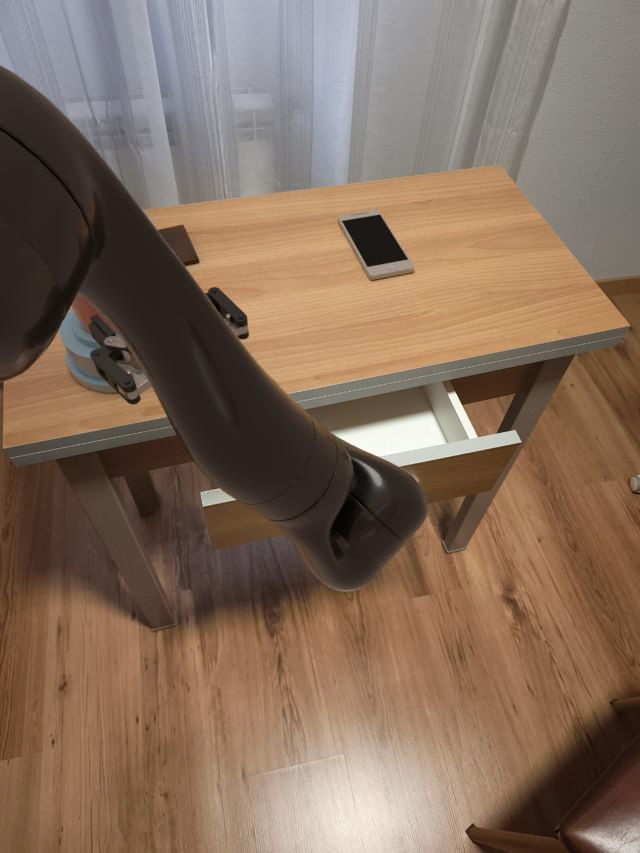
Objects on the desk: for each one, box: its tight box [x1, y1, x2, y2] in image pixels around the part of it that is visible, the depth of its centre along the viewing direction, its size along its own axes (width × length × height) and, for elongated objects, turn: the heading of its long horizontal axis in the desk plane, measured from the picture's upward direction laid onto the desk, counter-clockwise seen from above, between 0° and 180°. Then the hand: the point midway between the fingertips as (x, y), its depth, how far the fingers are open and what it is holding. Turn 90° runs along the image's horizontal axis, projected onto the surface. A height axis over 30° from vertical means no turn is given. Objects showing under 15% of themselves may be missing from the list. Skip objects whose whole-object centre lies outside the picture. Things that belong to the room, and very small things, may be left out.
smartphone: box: [337, 208, 415, 281], centre depth 88 cm, size 7×15×1 cm, turn 17°
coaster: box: [157, 224, 200, 267], centre depth 86 cm, size 9×9×1 cm
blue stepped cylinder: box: [59, 307, 144, 394], centre depth 71 cm, size 13×13×7 cm
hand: (133, 303), depth 57 cm, fingers open, 8 cm apart
